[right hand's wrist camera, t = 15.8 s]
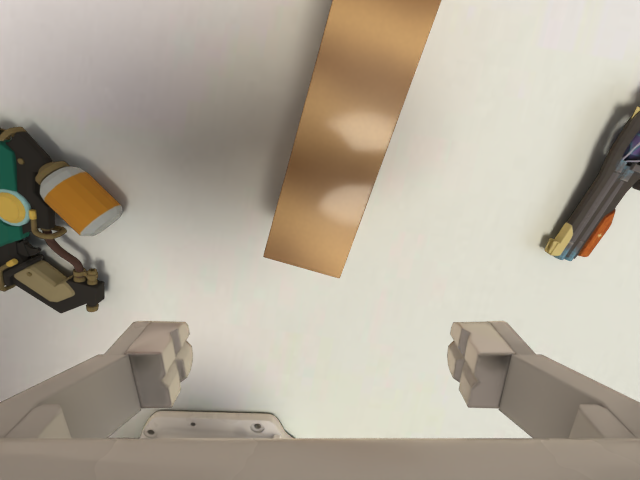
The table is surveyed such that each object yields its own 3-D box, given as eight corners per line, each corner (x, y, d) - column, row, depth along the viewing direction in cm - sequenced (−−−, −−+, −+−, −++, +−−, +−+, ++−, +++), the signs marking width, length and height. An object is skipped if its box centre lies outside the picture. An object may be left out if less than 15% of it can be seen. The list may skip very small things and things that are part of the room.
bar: (335, 236, 34) (339, 278, 25) (278, 219, 33) (262, 257, 25) (431, -41, 26) (484, -117, 17) (358, -69, 25) (376, -162, 17)
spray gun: (104, 314, 38) (-31, 248, 36) (153, 189, 32) (-6, 101, 30) (76, 339, 34) (-77, 267, 32) (126, 201, 28) (-59, 101, 26)
